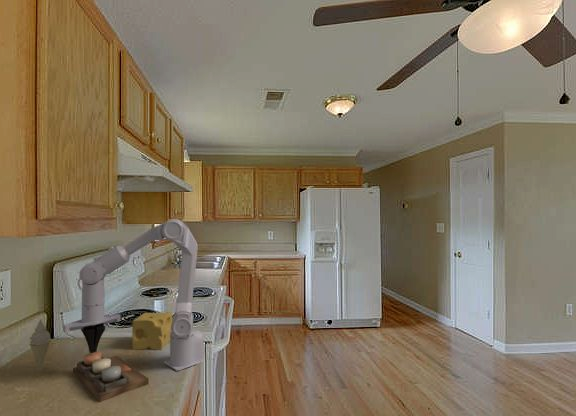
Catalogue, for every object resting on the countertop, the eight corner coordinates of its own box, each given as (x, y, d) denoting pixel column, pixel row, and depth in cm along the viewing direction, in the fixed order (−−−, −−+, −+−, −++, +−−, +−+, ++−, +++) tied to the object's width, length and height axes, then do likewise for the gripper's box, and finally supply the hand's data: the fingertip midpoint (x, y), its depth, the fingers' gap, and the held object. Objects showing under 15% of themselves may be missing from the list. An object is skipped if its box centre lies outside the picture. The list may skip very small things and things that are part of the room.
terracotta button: (98, 357, 105) (98, 350, 105) (103, 361, 102) (103, 354, 102) (81, 361, 101) (81, 354, 101) (86, 366, 98) (87, 359, 98)
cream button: (107, 364, 100) (107, 357, 100) (113, 369, 97) (113, 361, 97) (90, 369, 97) (90, 361, 97) (95, 374, 94) (95, 366, 94)
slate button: (116, 371, 95) (116, 364, 95) (123, 377, 92) (123, 369, 92) (99, 377, 92) (99, 369, 92) (105, 383, 89) (105, 375, 89)
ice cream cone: (47, 365, 107) (47, 315, 107) (53, 369, 103) (53, 318, 104) (27, 370, 103) (27, 319, 103) (32, 375, 100) (33, 322, 100)
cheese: (162, 350, 118) (162, 320, 118) (130, 350, 118) (130, 320, 119) (172, 339, 129) (172, 311, 129) (143, 339, 129) (143, 311, 129)
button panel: (116, 360, 110) (116, 350, 110) (148, 384, 95) (148, 372, 95) (72, 373, 101) (72, 362, 101) (100, 401, 86) (100, 389, 86)
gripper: (114, 297, 110) (113, 341, 110) (60, 306, 99) (59, 354, 99) (123, 301, 105) (123, 347, 105) (67, 311, 94) (67, 362, 94)
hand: (92, 351), depth 101 cm, fingers closed
